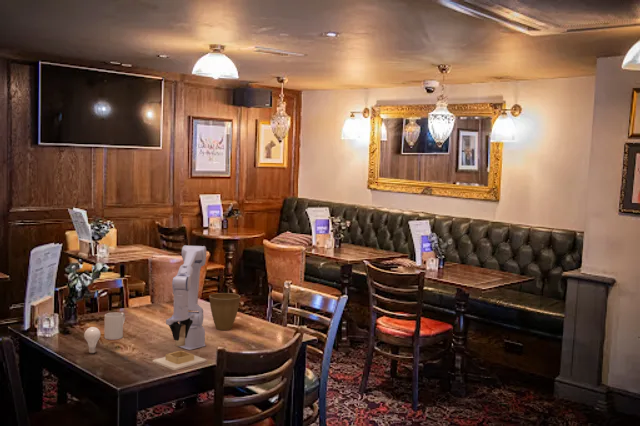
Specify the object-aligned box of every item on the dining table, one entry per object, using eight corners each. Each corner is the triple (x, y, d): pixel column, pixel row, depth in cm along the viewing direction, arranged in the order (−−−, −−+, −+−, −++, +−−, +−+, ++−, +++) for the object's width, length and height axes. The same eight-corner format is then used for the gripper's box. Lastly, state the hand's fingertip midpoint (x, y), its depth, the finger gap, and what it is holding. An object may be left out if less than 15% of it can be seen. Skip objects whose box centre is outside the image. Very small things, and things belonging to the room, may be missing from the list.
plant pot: (242, 331, 310) (243, 298, 309) (212, 333, 305) (212, 299, 304) (235, 323, 324) (236, 291, 323) (205, 325, 319) (206, 293, 317)
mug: (116, 340, 287) (116, 317, 286) (100, 338, 289) (101, 315, 288) (131, 333, 299) (131, 311, 298) (116, 332, 301) (116, 309, 300)
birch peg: (179, 342, 264) (180, 323, 263) (187, 344, 262) (187, 325, 261) (172, 345, 261) (173, 325, 260) (180, 346, 259) (180, 327, 258)
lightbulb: (81, 352, 268) (81, 326, 267) (96, 350, 273) (96, 324, 272) (88, 356, 264) (88, 330, 263) (103, 353, 268) (103, 327, 267)
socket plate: (184, 353, 273) (184, 346, 272) (206, 361, 264) (206, 354, 263) (152, 362, 260) (152, 354, 260) (174, 370, 251) (174, 362, 251)
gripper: (185, 301, 268) (185, 333, 269) (160, 307, 256) (159, 341, 257) (198, 303, 265) (198, 336, 266) (173, 310, 252) (173, 344, 253)
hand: (180, 338), depth 261 cm, fingers closed on birch peg, 4 cm apart
